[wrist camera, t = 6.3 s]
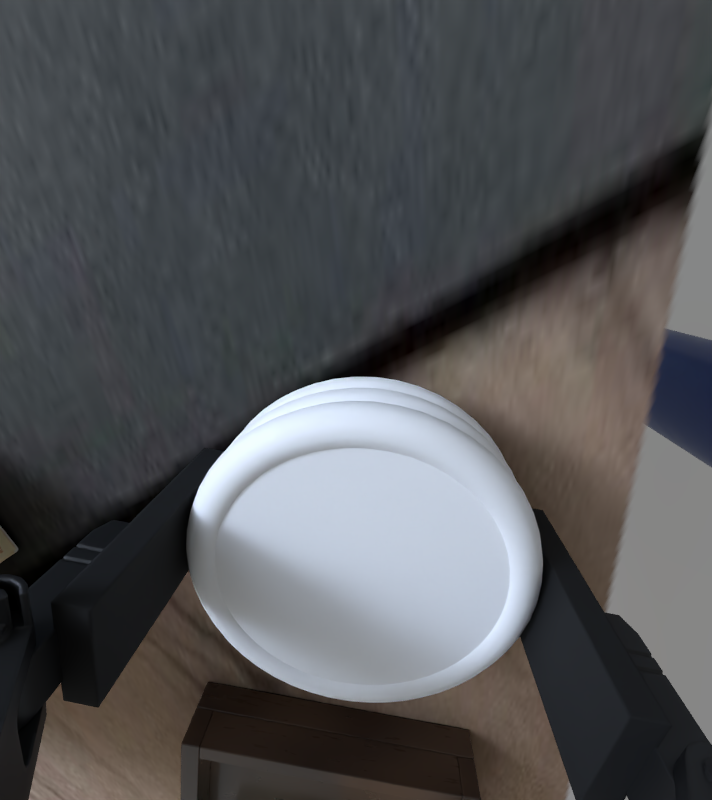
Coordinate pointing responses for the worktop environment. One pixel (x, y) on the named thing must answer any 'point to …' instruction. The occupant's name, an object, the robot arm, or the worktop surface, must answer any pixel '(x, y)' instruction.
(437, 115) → the worktop surface
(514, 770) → the worktop surface
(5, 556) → the coffeecake box
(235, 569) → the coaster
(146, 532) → the robot arm
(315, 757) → the dark brown wooden tray
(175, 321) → the worktop surface
